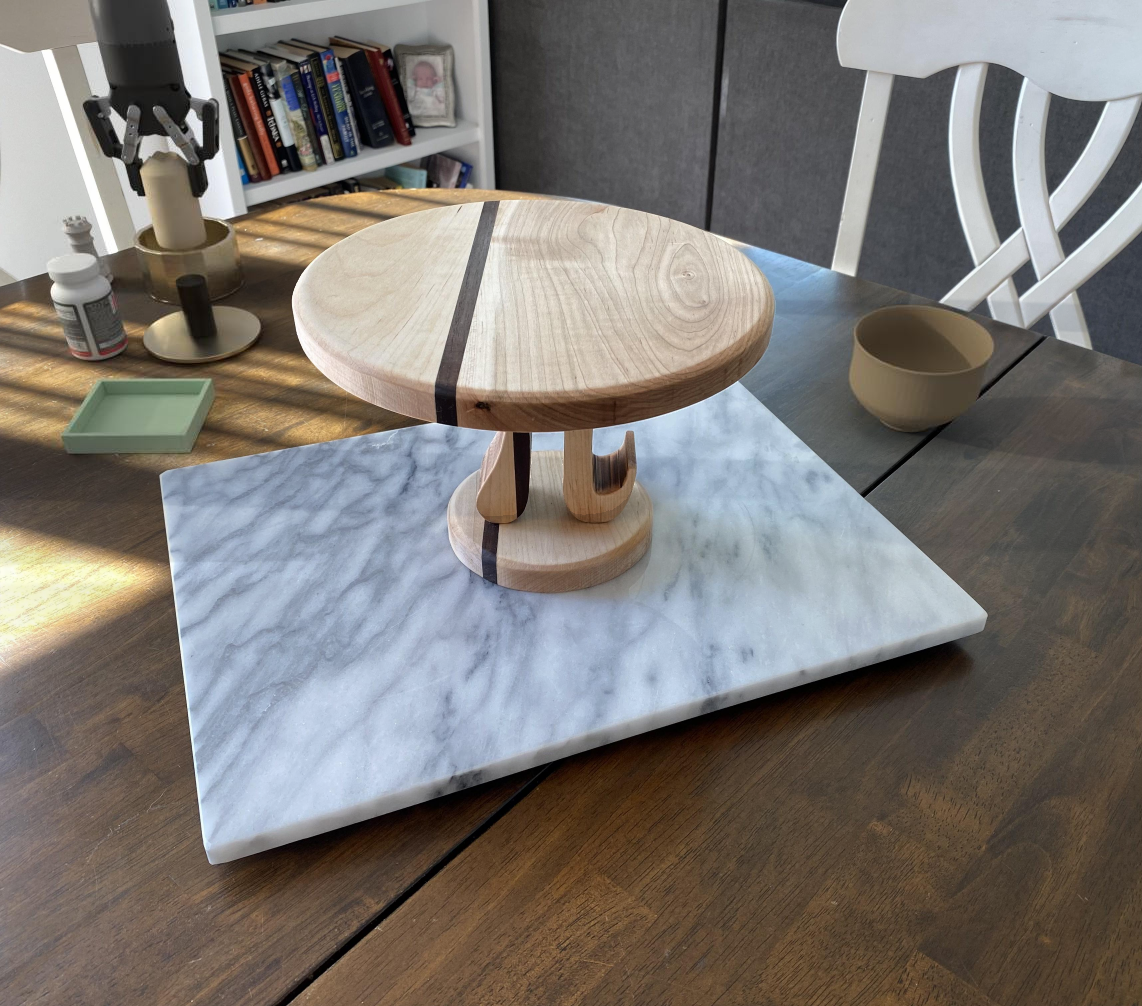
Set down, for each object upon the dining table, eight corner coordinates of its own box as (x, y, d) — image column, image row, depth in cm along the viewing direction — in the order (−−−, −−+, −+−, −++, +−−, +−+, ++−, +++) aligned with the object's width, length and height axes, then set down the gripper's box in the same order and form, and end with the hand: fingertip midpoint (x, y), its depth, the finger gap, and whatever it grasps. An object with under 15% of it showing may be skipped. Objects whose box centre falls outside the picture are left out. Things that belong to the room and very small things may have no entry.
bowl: (809, 405, 96) (828, 316, 89) (902, 378, 100) (927, 292, 94) (895, 471, 87) (923, 378, 81) (992, 439, 92) (1026, 348, 86)
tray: (67, 453, 85) (60, 435, 84) (104, 395, 93) (98, 378, 92) (190, 453, 86) (185, 435, 85) (216, 395, 94) (212, 378, 93)
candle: (168, 253, 107) (146, 165, 101) (150, 238, 110) (128, 151, 104) (214, 242, 110) (196, 156, 103) (195, 228, 113) (177, 143, 107)
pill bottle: (128, 333, 103) (103, 247, 97) (129, 357, 99) (103, 269, 93) (72, 340, 102) (42, 254, 96) (70, 366, 98) (39, 277, 91)
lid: (130, 368, 98) (111, 306, 93) (163, 314, 107) (148, 255, 103) (249, 368, 98) (236, 306, 94) (272, 314, 108) (261, 256, 103)
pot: (134, 305, 109) (119, 253, 105) (162, 264, 117) (149, 215, 113) (232, 305, 109) (221, 254, 105) (252, 265, 118) (243, 216, 114)
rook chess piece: (107, 272, 115) (88, 209, 110) (119, 285, 112) (100, 221, 107) (69, 282, 113) (48, 217, 108) (81, 295, 110) (60, 230, 105)
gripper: (49, 38, 93) (95, 206, 103) (197, 42, 94) (229, 207, 104) (76, 22, 99) (117, 182, 109) (215, 26, 100) (243, 184, 110)
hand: (172, 194), depth 106 cm, fingers closed on candle, 5 cm apart
